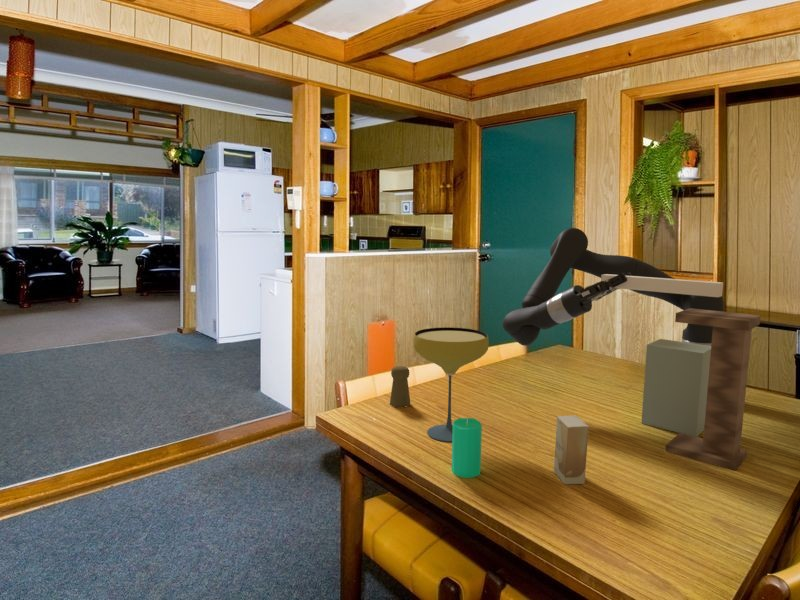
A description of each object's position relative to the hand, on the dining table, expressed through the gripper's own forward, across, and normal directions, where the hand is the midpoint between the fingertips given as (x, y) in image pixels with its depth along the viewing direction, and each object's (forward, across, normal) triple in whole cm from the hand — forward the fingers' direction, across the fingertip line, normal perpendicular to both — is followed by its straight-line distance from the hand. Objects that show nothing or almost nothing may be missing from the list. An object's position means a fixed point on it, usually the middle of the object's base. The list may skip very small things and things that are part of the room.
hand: (628, 276), depth 130 cm
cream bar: (+5, 0, +6) cm, 8 cm away
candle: (-31, -45, +27) cm, 61 cm away
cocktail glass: (-44, -32, +20) cm, 58 cm away
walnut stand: (-2, 0, +44) cm, 44 cm away
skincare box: (-16, -33, +36) cm, 51 cm away
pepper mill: (-65, -25, +8) cm, 70 cm away
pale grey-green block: (-12, +14, +38) cm, 42 cm away
